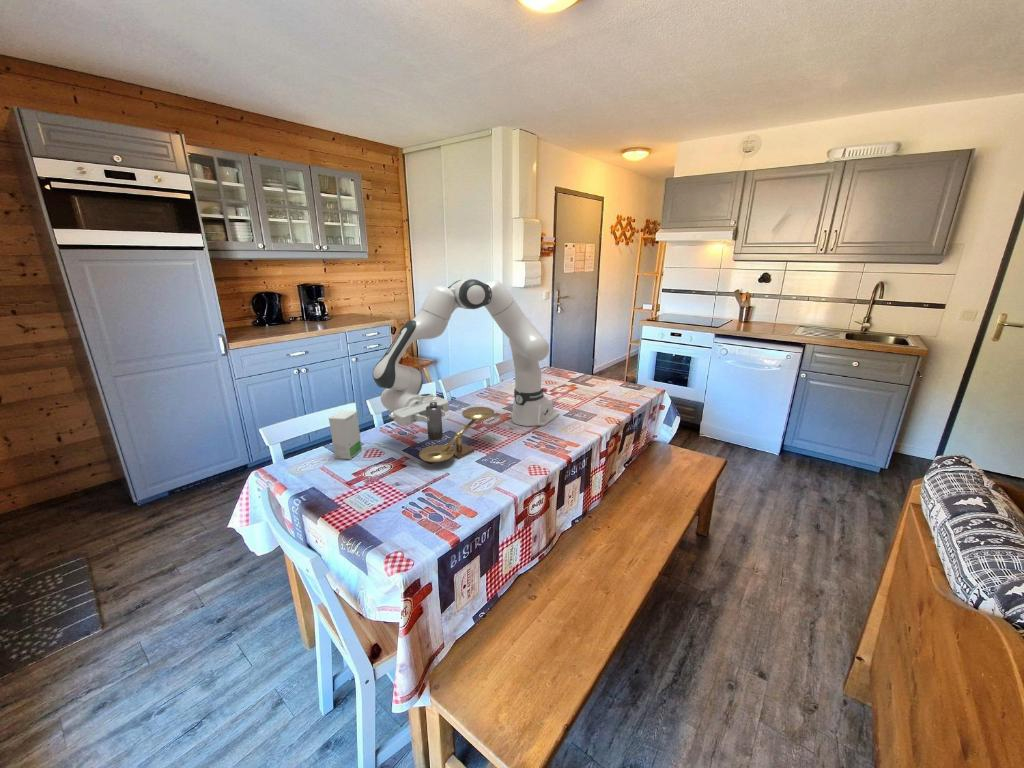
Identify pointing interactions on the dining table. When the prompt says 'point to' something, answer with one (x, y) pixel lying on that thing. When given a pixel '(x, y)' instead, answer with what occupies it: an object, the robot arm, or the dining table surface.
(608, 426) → the dining table surface
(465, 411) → the balance
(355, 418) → the skincare box
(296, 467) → the dining table surface
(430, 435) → the iron weight
